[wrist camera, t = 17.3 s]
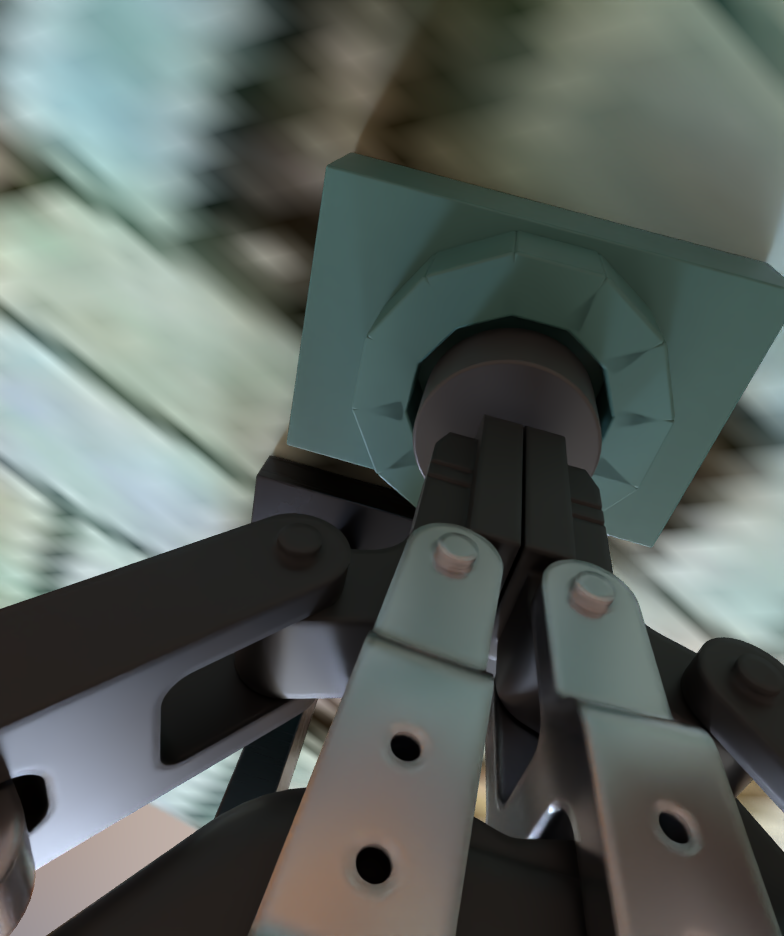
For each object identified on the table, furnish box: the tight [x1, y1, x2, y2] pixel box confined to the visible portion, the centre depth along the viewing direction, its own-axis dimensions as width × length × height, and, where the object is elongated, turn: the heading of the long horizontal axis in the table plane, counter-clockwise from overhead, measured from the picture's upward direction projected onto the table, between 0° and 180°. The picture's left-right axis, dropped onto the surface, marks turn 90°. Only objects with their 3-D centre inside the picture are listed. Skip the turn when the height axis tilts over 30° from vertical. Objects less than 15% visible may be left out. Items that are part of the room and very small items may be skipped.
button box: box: [287, 153, 784, 547], centre depth 15 cm, size 10×7×4 cm
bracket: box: [214, 456, 496, 819], centre depth 17 cm, size 8×10×13 cm
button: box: [412, 328, 602, 479], centre depth 13 cm, size 4×4×2 cm
